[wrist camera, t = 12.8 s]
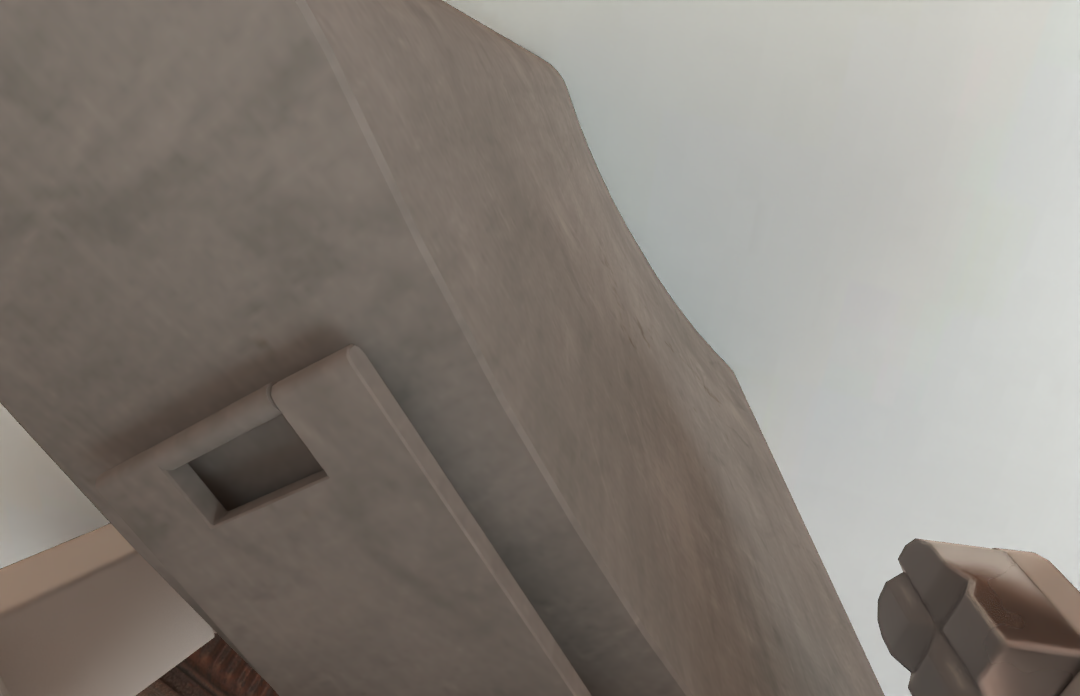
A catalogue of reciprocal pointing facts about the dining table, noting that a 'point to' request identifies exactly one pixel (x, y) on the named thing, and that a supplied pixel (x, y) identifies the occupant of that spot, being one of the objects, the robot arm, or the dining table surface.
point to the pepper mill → (211, 675)
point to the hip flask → (384, 361)
